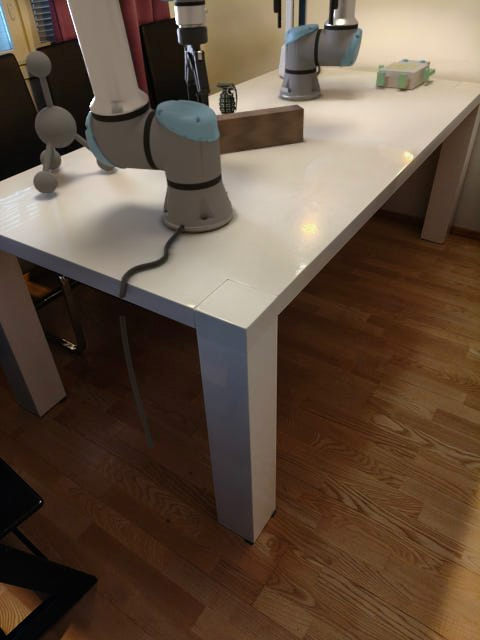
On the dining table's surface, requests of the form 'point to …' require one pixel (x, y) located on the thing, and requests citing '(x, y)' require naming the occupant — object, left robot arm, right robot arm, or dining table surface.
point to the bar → (260, 128)
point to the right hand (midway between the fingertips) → (305, 26)
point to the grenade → (227, 98)
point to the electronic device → (292, 26)
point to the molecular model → (52, 127)
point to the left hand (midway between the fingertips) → (199, 115)
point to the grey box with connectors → (404, 74)
